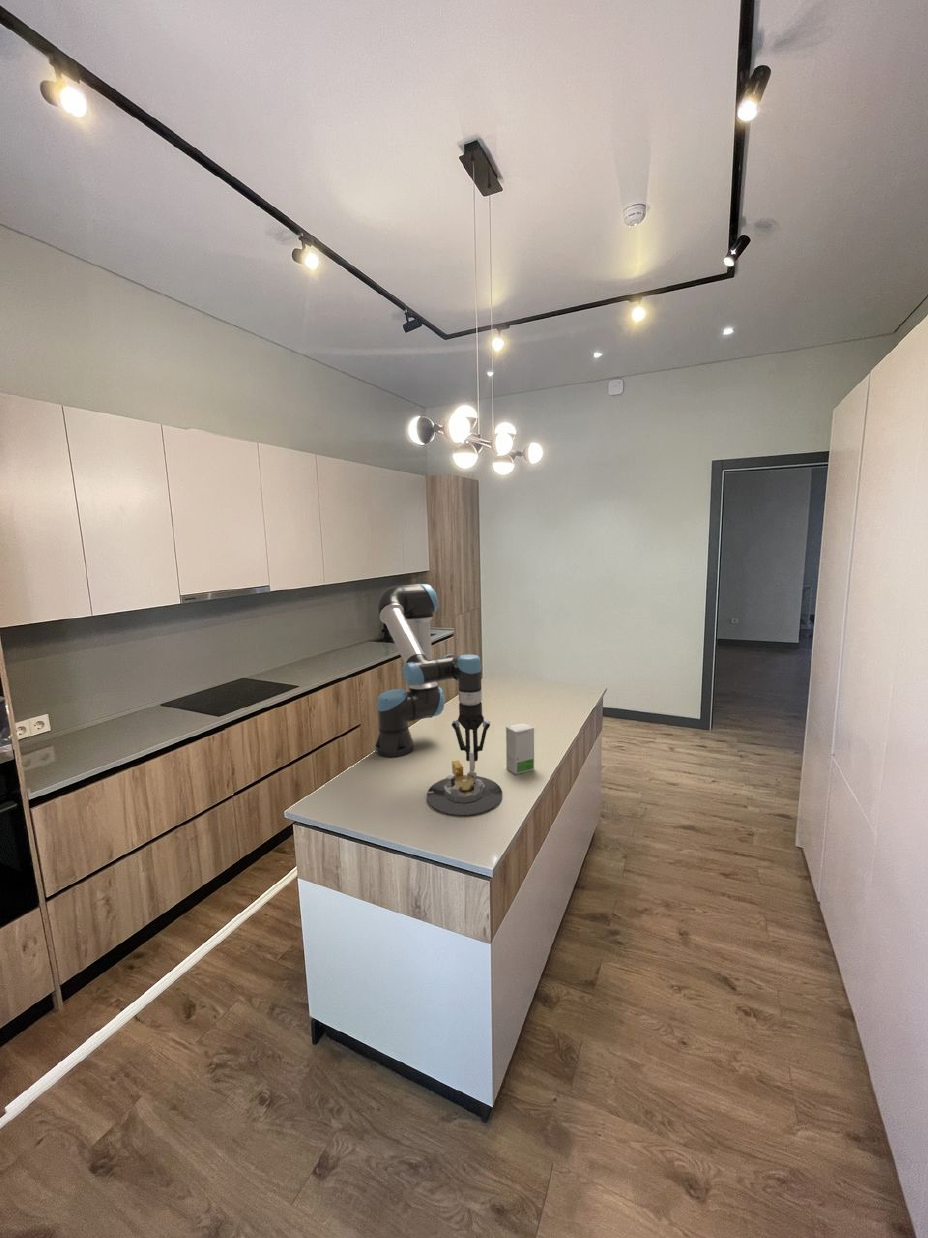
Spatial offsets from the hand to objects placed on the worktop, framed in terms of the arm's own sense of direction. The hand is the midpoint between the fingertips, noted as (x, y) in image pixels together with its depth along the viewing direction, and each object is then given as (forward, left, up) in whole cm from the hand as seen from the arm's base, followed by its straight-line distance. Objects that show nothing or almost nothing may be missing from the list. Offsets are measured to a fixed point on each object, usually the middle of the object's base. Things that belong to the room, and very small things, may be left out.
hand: (472, 769), depth 161 cm
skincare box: (+14, +13, -5) cm, 20 cm away
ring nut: (-2, -7, -3) cm, 8 cm away
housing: (-1, -9, -5) cm, 10 cm away
